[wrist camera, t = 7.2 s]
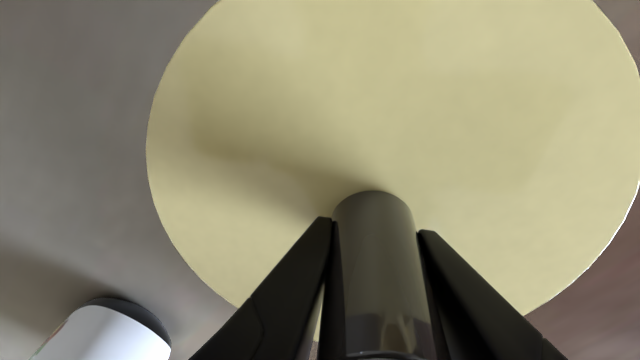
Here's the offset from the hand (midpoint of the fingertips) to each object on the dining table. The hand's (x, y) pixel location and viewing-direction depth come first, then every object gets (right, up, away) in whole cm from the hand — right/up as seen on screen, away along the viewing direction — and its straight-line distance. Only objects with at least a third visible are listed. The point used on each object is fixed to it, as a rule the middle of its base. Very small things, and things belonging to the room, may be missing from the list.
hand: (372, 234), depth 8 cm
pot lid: (0, +1, +1) cm, 1 cm away
